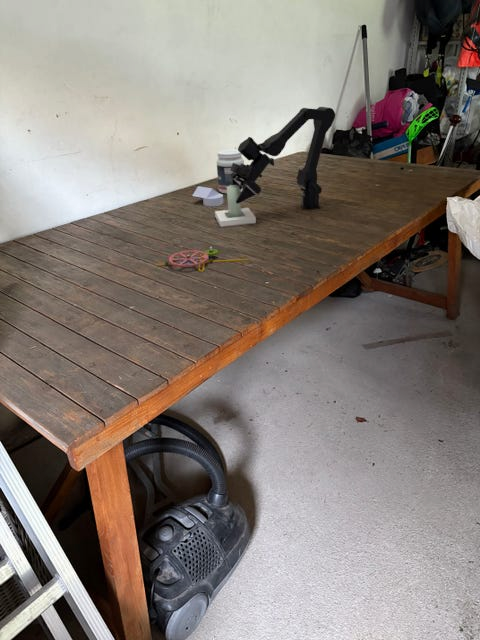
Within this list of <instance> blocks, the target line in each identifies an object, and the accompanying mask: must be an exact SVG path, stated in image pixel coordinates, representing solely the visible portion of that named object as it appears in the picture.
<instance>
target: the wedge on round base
mask: <svg viewBox="0 0 480 640" xmlns="http://www.w3.org/2000/svg"><path fill="white" fill-rule="evenodd" d="M192 197H197V198H202V202H203V206H205V207H218V206H222V205H223V204H224V195H223V193H220V192H219V191H217V190H215V189H214V188H212V187H207V186H201V185H200V186H197V187H196V189H195V190H194V192H193V194H192Z"/></svg>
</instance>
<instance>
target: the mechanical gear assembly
mask: <svg viewBox="0 0 480 640" xmlns="http://www.w3.org/2000/svg"><path fill="white" fill-rule="evenodd" d="M190 254H192V255H190ZM198 254H199V256H196V255H198ZM218 254H219V250H217V249H215V248H214V249H213V247H212V246H209V249H205V250H204V251H202V250H201V251H200V250H194V249H193V250H191V249H190V250H189V249H188V250H183V251H178V252H175V253H173V254H172V255H170V256H169V257H168V260H165V262H164V263H155V265H156V267H158V266H165V267H168V266H174V267H177V268H193V267H197V266H198V272H199V273H203V272H204V271H205V267H206V266H205V265H206V264H213V263H214V264H215V263H228V262H229V263H230V262H247V261H248V258H239V259H238V258H237V259H223V260H222V259H219V260H218V259H217V260H213V258H210V257H213V256H216V255H218ZM177 256H182V257H181V258H180V257H179V258H175V257H177ZM174 261H178V262H174ZM201 266H202V269H201Z"/></svg>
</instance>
